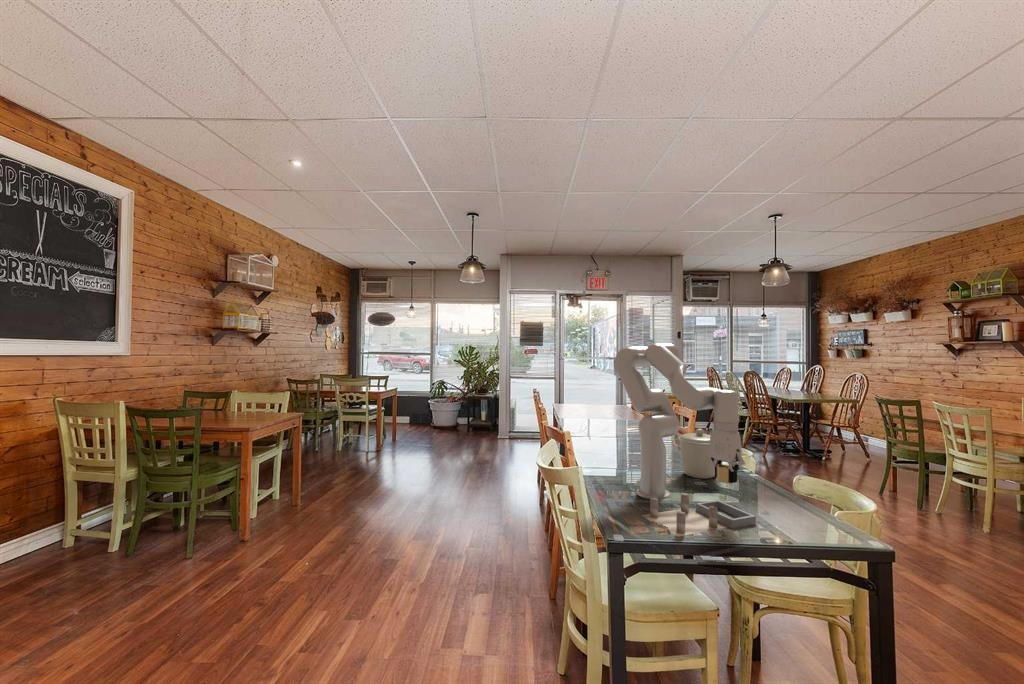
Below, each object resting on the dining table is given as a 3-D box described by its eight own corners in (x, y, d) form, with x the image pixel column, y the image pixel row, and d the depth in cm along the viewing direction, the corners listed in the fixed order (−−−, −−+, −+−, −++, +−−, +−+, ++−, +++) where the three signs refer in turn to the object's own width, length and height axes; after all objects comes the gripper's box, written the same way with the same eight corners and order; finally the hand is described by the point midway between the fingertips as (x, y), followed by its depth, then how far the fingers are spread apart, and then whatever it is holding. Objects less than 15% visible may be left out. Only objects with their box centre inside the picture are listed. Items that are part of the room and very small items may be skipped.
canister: (695, 483, 197) (695, 433, 196) (669, 471, 214) (669, 426, 214) (730, 479, 202) (731, 431, 201) (702, 468, 219) (702, 424, 219)
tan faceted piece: (713, 479, 158) (713, 465, 158) (726, 477, 160) (726, 463, 160) (725, 484, 153) (725, 468, 153) (738, 482, 156) (738, 467, 156)
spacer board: (641, 518, 158) (641, 497, 158) (687, 510, 165) (687, 491, 165) (677, 539, 142) (677, 517, 141) (727, 530, 149) (727, 508, 149)
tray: (695, 513, 163) (696, 503, 163) (717, 509, 167) (718, 500, 167) (732, 531, 148) (732, 520, 148) (755, 526, 152) (755, 516, 152)
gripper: (698, 423, 164) (698, 474, 164) (737, 432, 148) (737, 488, 148) (715, 421, 166) (715, 472, 166) (755, 430, 150) (755, 486, 150)
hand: (725, 479), depth 157 cm, fingers closed on tan faceted piece, 5 cm apart
